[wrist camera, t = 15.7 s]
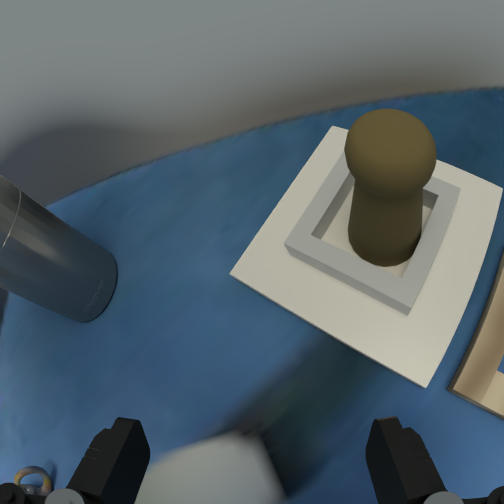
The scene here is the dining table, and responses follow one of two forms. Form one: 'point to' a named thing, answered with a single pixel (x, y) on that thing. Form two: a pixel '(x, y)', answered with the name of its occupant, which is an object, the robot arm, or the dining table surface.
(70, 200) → the dining table surface
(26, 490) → the mug
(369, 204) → the cork
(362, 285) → the dock
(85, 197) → the dining table surface
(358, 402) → the dining table surface
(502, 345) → the tan square frame
